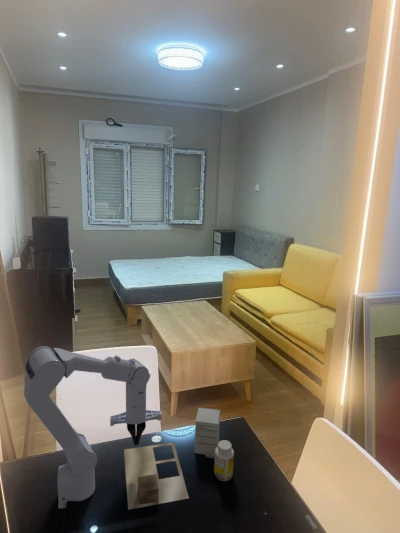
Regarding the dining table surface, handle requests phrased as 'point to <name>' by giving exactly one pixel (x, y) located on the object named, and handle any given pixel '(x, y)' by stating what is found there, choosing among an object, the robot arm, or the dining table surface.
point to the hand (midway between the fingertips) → (136, 442)
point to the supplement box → (207, 431)
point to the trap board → (144, 465)
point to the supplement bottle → (224, 461)
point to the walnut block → (148, 489)
